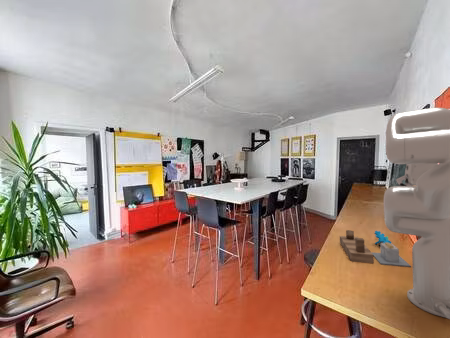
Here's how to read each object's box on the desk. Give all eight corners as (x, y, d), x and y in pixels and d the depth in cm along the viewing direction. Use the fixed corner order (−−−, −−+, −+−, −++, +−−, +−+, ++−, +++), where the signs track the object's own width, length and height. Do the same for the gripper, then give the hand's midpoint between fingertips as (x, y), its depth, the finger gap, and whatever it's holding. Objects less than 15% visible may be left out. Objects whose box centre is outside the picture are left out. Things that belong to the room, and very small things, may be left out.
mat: (410, 267, 86) (410, 265, 86) (380, 264, 90) (380, 263, 90) (397, 255, 97) (397, 254, 97) (371, 253, 100) (371, 252, 100)
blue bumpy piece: (388, 248, 101) (373, 230, 107) (379, 253, 105) (364, 236, 111) (397, 245, 107) (382, 229, 113) (387, 250, 110) (373, 234, 117)
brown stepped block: (373, 263, 91) (372, 241, 91) (351, 261, 94) (350, 240, 93) (357, 243, 112) (357, 226, 112) (339, 242, 115) (339, 225, 114)
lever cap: (399, 262, 90) (398, 247, 89) (386, 261, 91) (385, 246, 91) (392, 256, 95) (392, 242, 95) (380, 255, 97) (380, 241, 97)
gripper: (400, 159, 82) (401, 200, 83) (455, 156, 77) (455, 200, 77) (391, 159, 89) (392, 197, 90) (440, 156, 84) (441, 197, 85)
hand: (422, 198), depth 84 cm, fingers open, 9 cm apart
